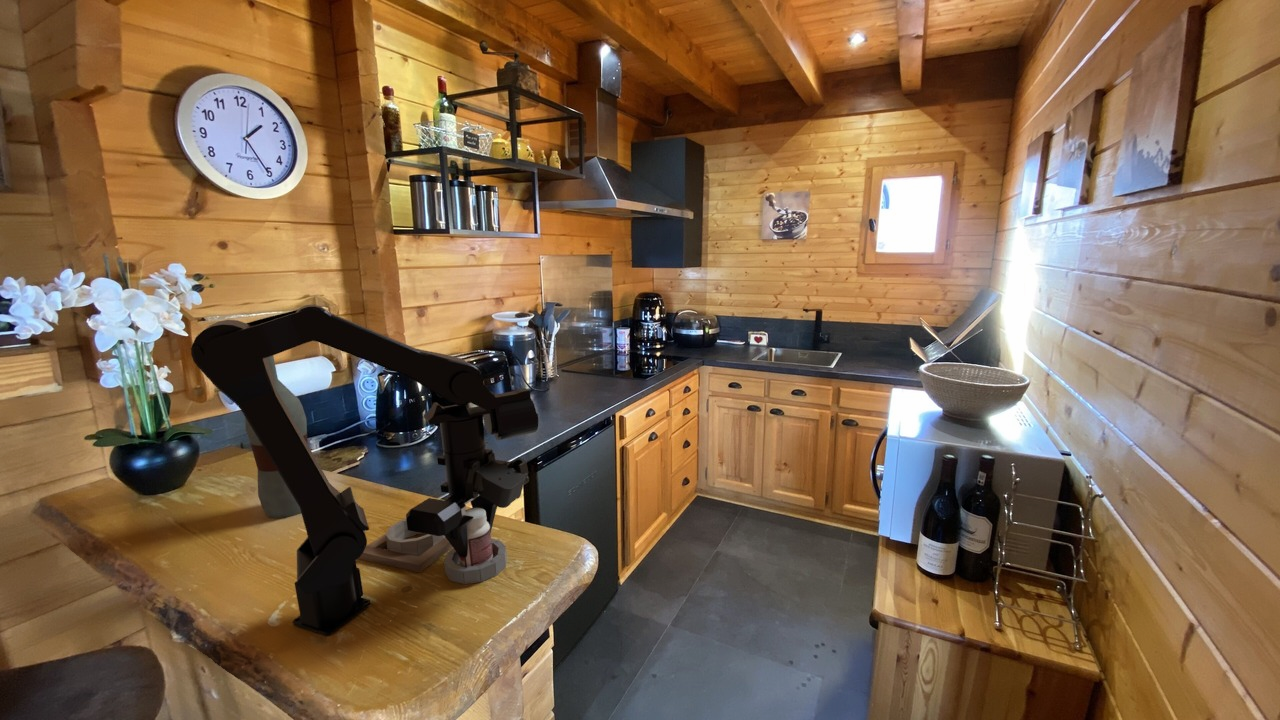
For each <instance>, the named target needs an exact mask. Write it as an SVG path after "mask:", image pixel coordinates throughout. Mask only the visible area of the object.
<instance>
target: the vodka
mask: <svg viewBox="0 0 1280 720" xmlns="http://www.w3.org/2000/svg"><path fill="white" fill-rule="evenodd" d="M274 356H275V355H273V356H270V357H267V358H268V361H269V365H270V369H271V372H272V376H273V380H274V383H275V387H276V390H277V391H278V393H279V395H280V397H281V399H282V400H283V402H284V404H285V406H286V407H287V409H288V411H289V413H290V414H291V416H292V418H293V420H294V421H295V423H296V425H297V427H298V428H299V430H300V432H301V434H302V436H303V437H304V439H305V441H306V443H307V444H308V429H307V424H308V423H307V416H306V413H305V410H304V407H303V404H302V402H301V401H300V399H299V398H298V397H297V396H296V395H295V394H294V393H293V392H292V391H291V390H290V389H289V388H288V387H287V386H285V384H283V382H282V381H280V380H279V378H278V374H277V367H276V363H275V357H274ZM244 420H245V421H244V422H245V432H246V436H247V438H248V441H249V443H250V447H251V450H252V454H253V457H254V461H255V464H256V468H257V495H258V499H259V501H260V504H261V508H262V510H263V511H264V513H265V515H266V516H267V517H268V518H272V519H282V518H288V517H294V516H297V515H300V514H302V513H301V510H300V507H299V505H298V504H297V502H296V500H295V499H294V497H293V495H292V494H291V492H290V490H289V489H288V487H287V485H286V484H285V482H284V480H283V479H282V477H281V475H280V474H279V472H278V470H277V469H276V467H275V465H274V464H273V462H272V460H271V459H270V457H269V455H268V454H267V452H266V450H265V449H264V447H263V445H262V444H261V442H260V441H259V439H258V437H257V436H256V434H255V432H254V431H253V429H252V427H251V426H250V424H249V422H248V421H247V419H246V417H245V416H244ZM308 445H309V444H308Z"/></svg>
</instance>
